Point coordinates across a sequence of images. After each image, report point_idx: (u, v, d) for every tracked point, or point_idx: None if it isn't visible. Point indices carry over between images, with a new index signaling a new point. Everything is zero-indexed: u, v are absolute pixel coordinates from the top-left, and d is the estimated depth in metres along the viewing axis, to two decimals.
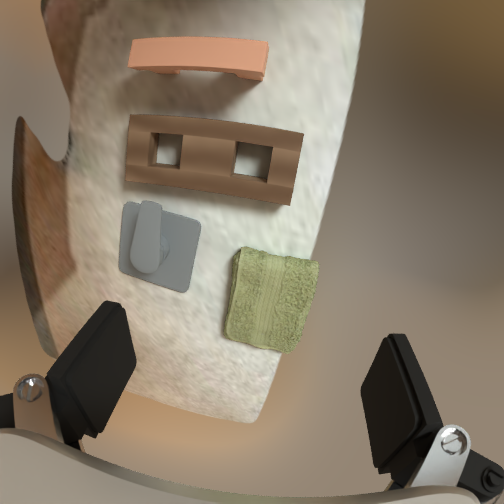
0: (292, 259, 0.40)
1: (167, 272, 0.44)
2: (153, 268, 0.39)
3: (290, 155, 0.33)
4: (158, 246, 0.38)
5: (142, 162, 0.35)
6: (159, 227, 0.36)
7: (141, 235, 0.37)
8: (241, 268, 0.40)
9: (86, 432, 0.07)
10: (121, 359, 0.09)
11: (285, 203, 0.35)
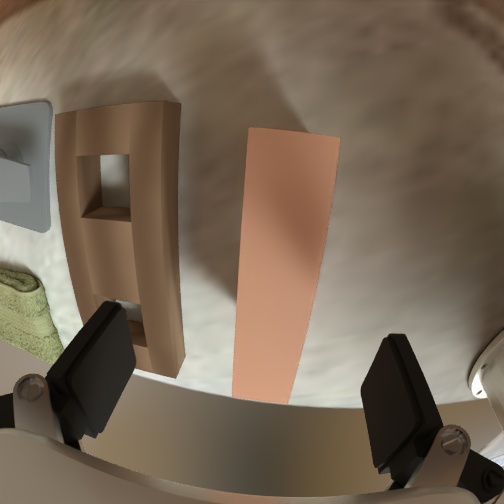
0: (54, 340, 0.27)
1: None
2: None
3: (144, 363, 0.24)
4: None
5: (80, 145, 0.16)
6: (9, 200, 0.17)
7: None
8: (19, 295, 0.24)
9: (86, 432, 0.07)
10: (121, 359, 0.09)
11: None
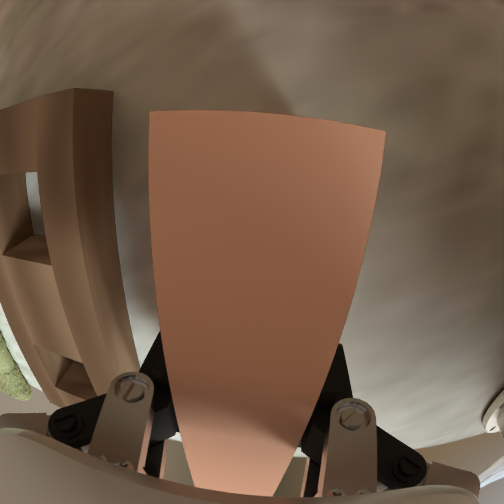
0: (15, 377, 0.21)
1: None
2: None
3: None
4: None
5: None
6: None
7: None
8: None
9: None
10: None
11: (49, 399, 0.17)
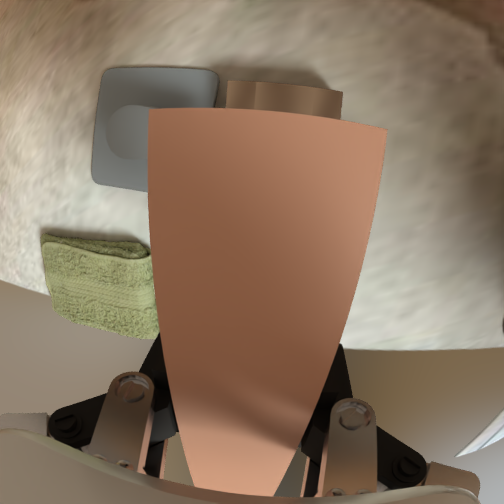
0: (155, 311, 0.32)
1: None
2: (116, 149, 0.21)
3: None
4: None
5: None
6: None
7: None
8: (126, 263, 0.28)
9: None
10: None
11: None
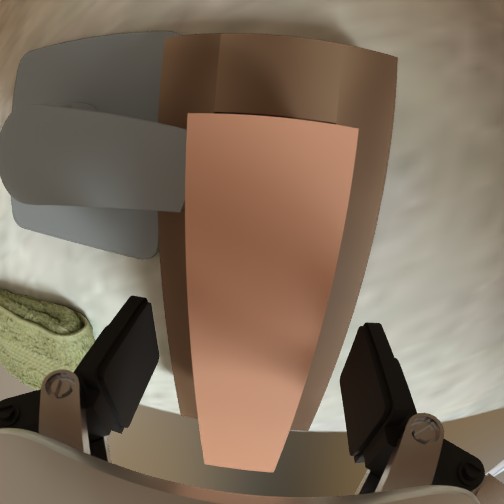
0: None
1: None
2: (10, 188, 0.10)
3: None
4: (59, 202, 0.10)
5: (227, 92, 0.10)
6: (110, 204, 0.10)
7: (74, 139, 0.09)
8: (53, 339, 0.17)
9: (112, 427, 0.07)
10: (146, 353, 0.10)
11: (182, 411, 0.18)
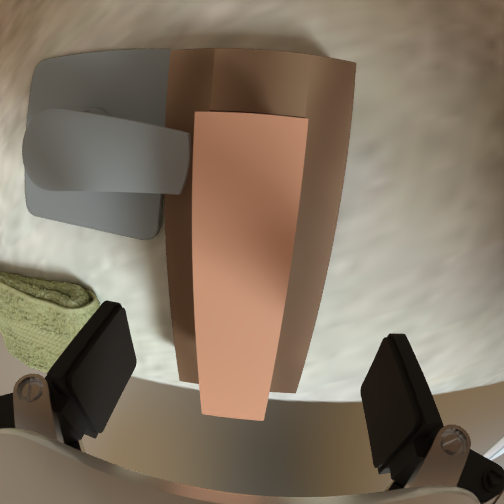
0: None
1: None
2: (34, 177, 0.12)
3: None
4: (80, 188, 0.13)
5: (220, 95, 0.12)
6: (124, 189, 0.13)
7: (95, 138, 0.12)
8: (64, 313, 0.19)
9: (86, 432, 0.07)
10: (121, 359, 0.09)
11: (181, 376, 0.20)
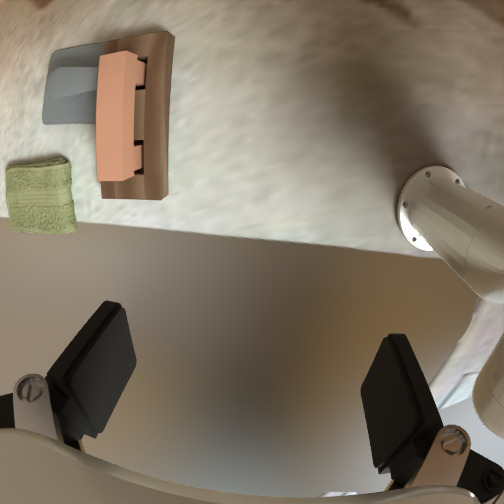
0: (70, 208, 0.38)
1: (55, 101, 0.32)
2: (51, 94, 0.28)
3: (139, 191, 0.35)
4: (69, 94, 0.28)
5: None
6: (84, 91, 0.28)
7: (76, 74, 0.27)
8: (51, 169, 0.34)
9: (86, 432, 0.07)
10: (121, 359, 0.09)
11: (102, 194, 0.35)
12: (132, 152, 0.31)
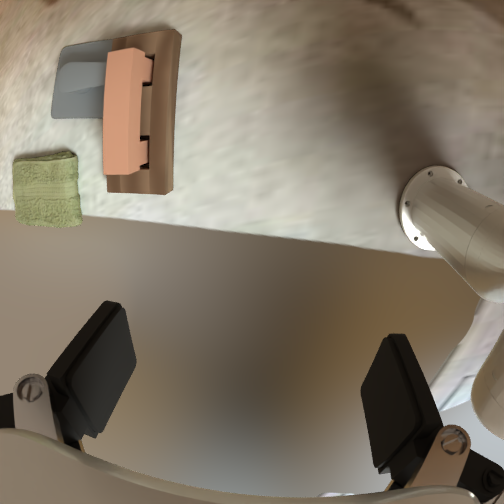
0: (76, 202, 0.39)
1: (64, 96, 0.33)
2: (60, 88, 0.29)
3: (145, 186, 0.36)
4: (78, 88, 0.29)
5: None
6: (94, 85, 0.29)
7: (85, 69, 0.28)
8: (58, 163, 0.35)
9: (86, 432, 0.07)
10: (121, 359, 0.09)
11: (108, 188, 0.36)
12: (138, 147, 0.31)
